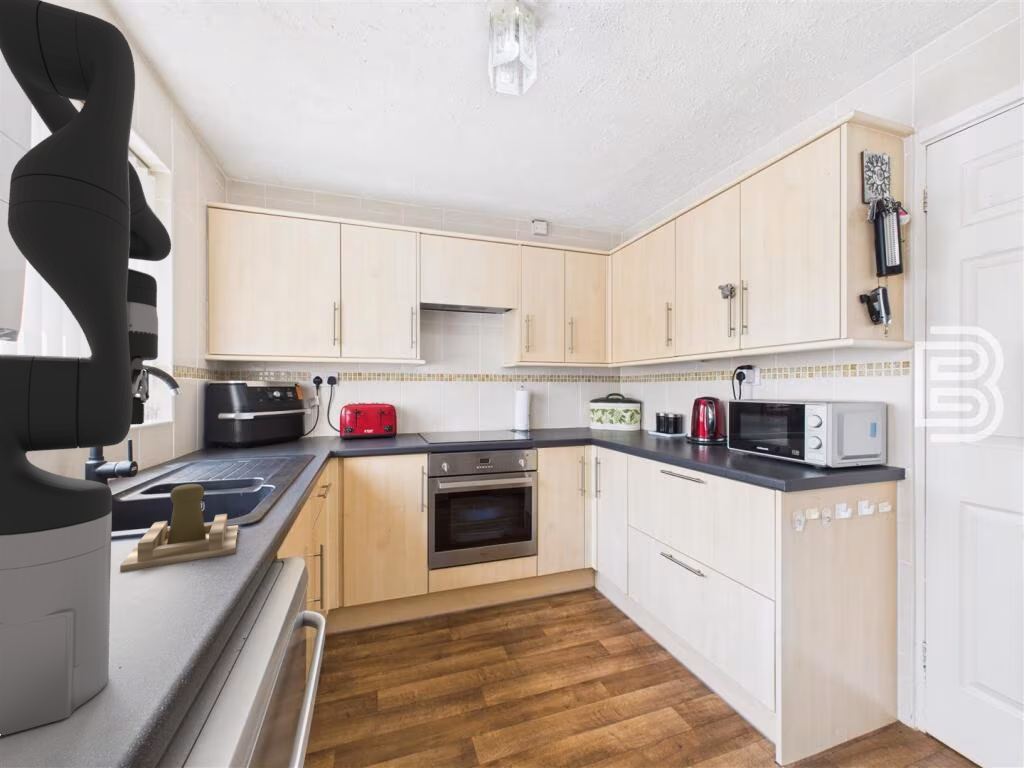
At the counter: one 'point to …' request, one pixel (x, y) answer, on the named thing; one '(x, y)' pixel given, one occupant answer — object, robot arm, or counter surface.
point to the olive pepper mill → (186, 514)
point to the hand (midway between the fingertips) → (128, 425)
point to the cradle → (181, 545)
